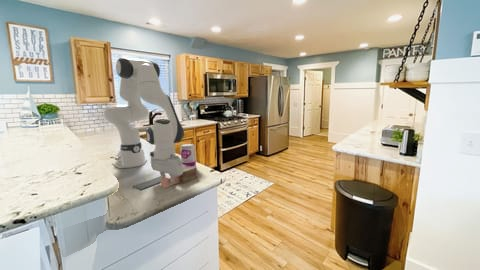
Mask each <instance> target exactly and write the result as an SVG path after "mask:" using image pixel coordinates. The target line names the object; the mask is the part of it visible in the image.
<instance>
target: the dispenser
mask: <svg viewBox="0 0 480 270" xmlns="http://www.w3.org/2000/svg"><path fill="white" fill-rule="evenodd" d="M182 165H183V171H184V172H183V174H182V175H180V182H179V183H182V184H186V183H189V182H191V181H193V180H195V179H198V170H197V166H196V167H193V166H188V165H184V164H182ZM168 176H170V174H168Z"/></svg>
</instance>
